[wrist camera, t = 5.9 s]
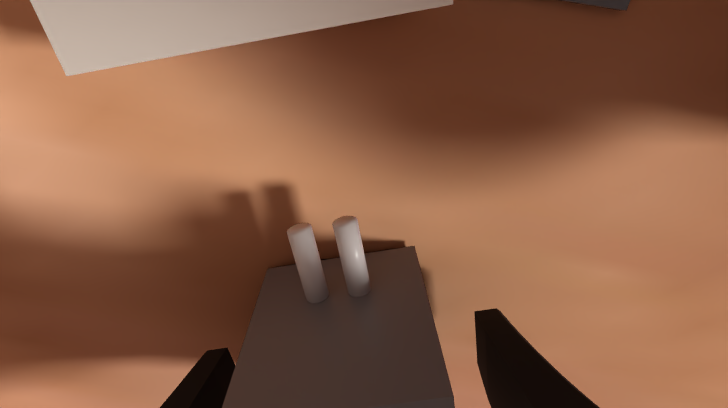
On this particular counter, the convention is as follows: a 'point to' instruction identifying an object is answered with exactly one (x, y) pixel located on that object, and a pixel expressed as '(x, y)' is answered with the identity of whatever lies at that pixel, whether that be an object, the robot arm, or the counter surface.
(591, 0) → the plate
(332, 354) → the charger
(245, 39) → the power strip
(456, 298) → the counter surface
